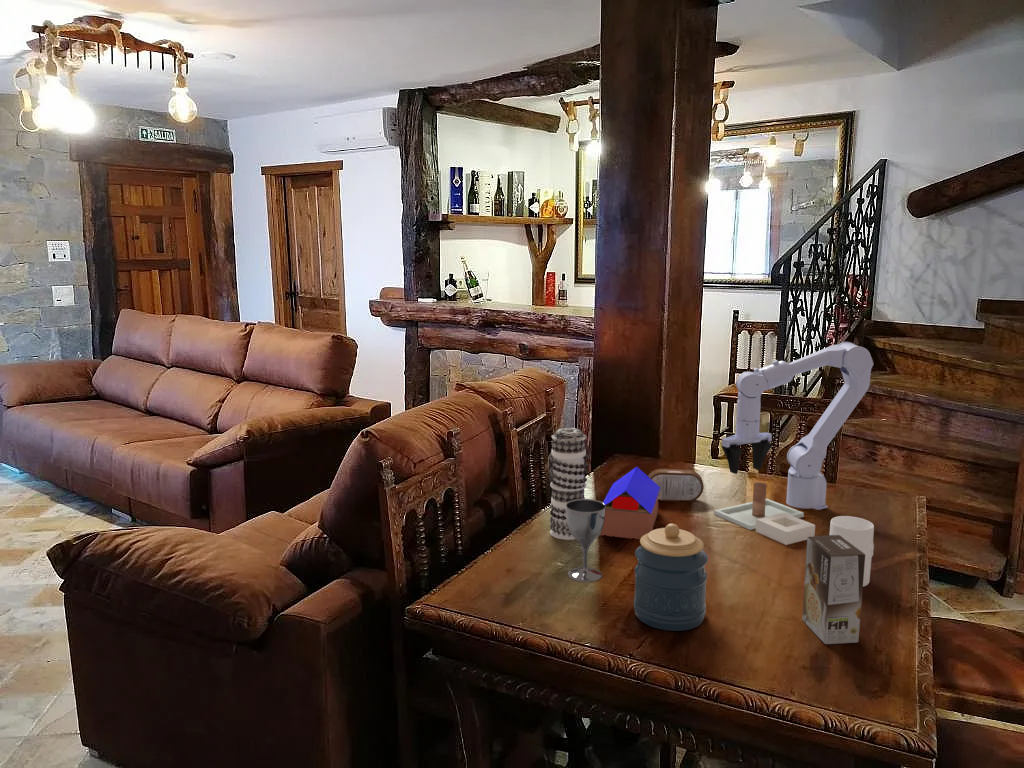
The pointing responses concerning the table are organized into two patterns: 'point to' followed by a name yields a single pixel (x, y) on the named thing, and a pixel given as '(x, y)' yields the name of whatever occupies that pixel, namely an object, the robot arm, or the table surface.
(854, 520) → the mug
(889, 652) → the table surface
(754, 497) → the pin
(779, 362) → the robot arm
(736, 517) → the tray
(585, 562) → the wine glass
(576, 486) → the decorative candle
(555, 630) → the table surface
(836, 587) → the coffee box
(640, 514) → the house
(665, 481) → the tin
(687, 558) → the canister
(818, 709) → the table surface
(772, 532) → the cup block
